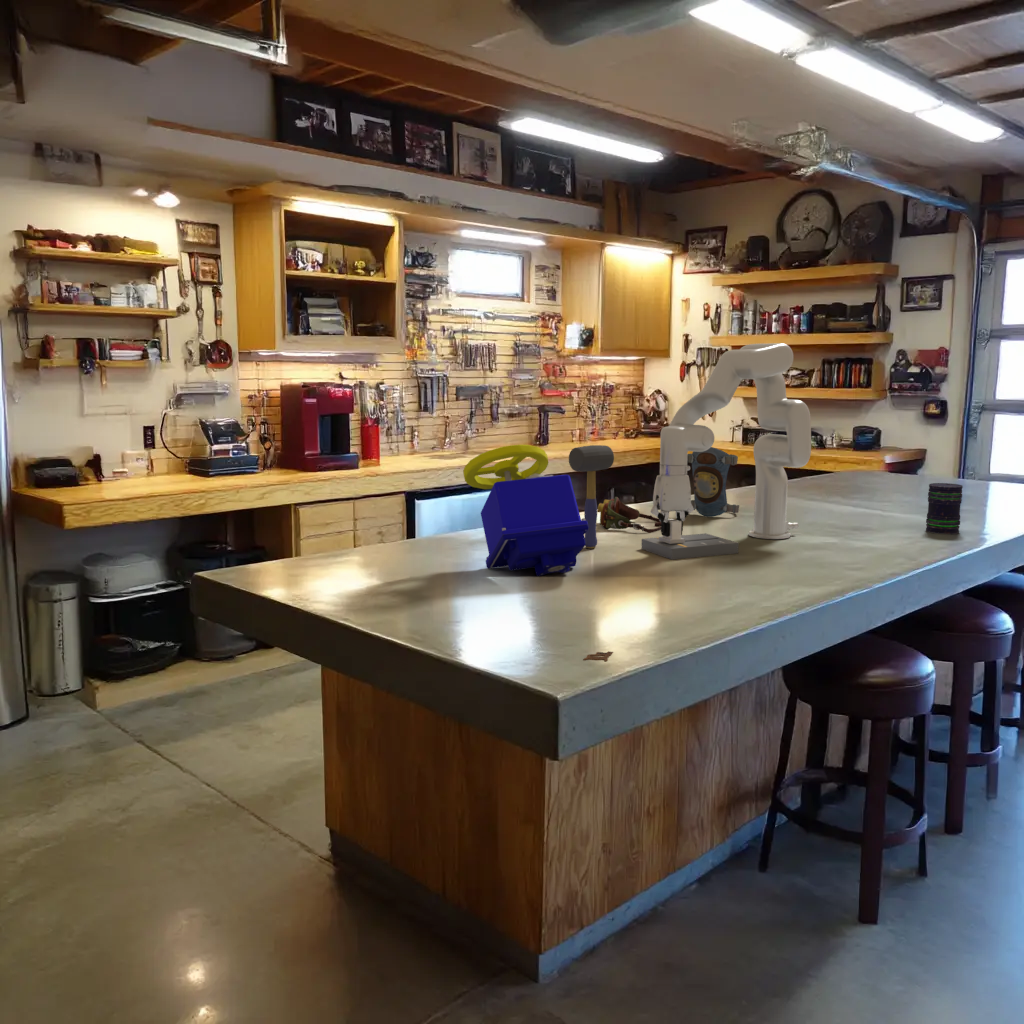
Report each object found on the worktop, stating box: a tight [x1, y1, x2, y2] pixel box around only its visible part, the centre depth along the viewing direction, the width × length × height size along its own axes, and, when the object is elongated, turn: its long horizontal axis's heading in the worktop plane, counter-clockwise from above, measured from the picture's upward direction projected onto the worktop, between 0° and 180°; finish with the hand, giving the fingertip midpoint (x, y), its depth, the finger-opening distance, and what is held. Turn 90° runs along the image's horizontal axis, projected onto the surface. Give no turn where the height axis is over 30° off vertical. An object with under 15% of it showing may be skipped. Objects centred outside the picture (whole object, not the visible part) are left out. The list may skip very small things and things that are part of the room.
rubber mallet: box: [568, 444, 615, 550], centre depth 258 cm, size 12×8×30 cm, turn 127°
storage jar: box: [925, 482, 964, 535], centre depth 285 cm, size 10×10×15 cm
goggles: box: [597, 496, 661, 534], centre depth 295 cm, size 24×24×10 cm
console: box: [641, 532, 739, 560], centre depth 256 cm, size 22×16×3 cm
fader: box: [657, 518, 685, 544], centre depth 253 cm, size 5×6×6 cm
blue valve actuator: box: [462, 444, 589, 577], centre depth 228 cm, size 26×27×30 cm
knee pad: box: [687, 446, 740, 518], centre depth 318 cm, size 18×20×25 cm
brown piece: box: [582, 651, 614, 662], centre depth 171 cm, size 24×5×1 cm, turn 162°
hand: (671, 534), depth 253 cm, fingers open, 3 cm apart
